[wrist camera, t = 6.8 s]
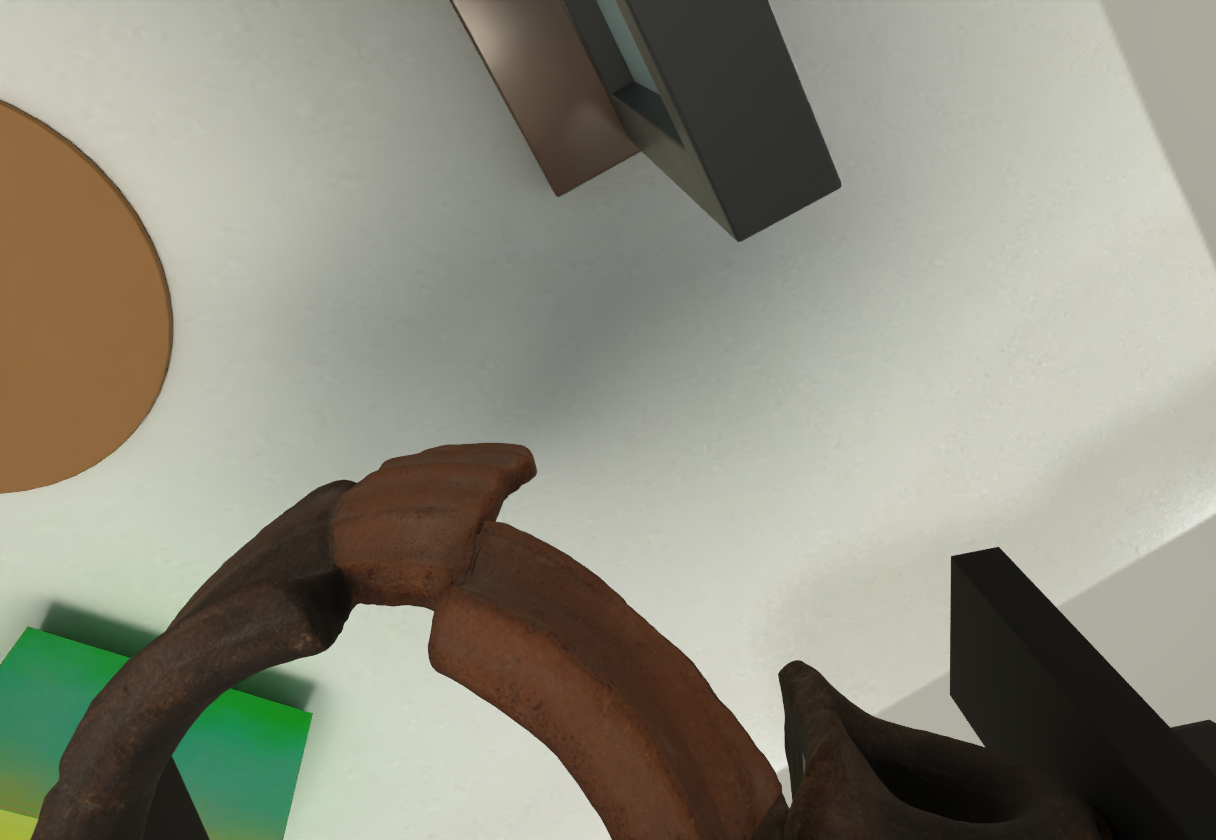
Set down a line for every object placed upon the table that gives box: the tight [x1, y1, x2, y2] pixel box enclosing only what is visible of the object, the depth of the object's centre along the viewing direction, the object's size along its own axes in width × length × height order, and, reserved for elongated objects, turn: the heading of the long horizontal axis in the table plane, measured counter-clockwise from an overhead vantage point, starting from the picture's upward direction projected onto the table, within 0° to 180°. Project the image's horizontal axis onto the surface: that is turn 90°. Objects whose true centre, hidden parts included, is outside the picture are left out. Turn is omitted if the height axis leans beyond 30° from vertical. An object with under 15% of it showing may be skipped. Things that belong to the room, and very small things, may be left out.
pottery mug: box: [30, 443, 1113, 840], centre depth 12 cm, size 12×10×8 cm
